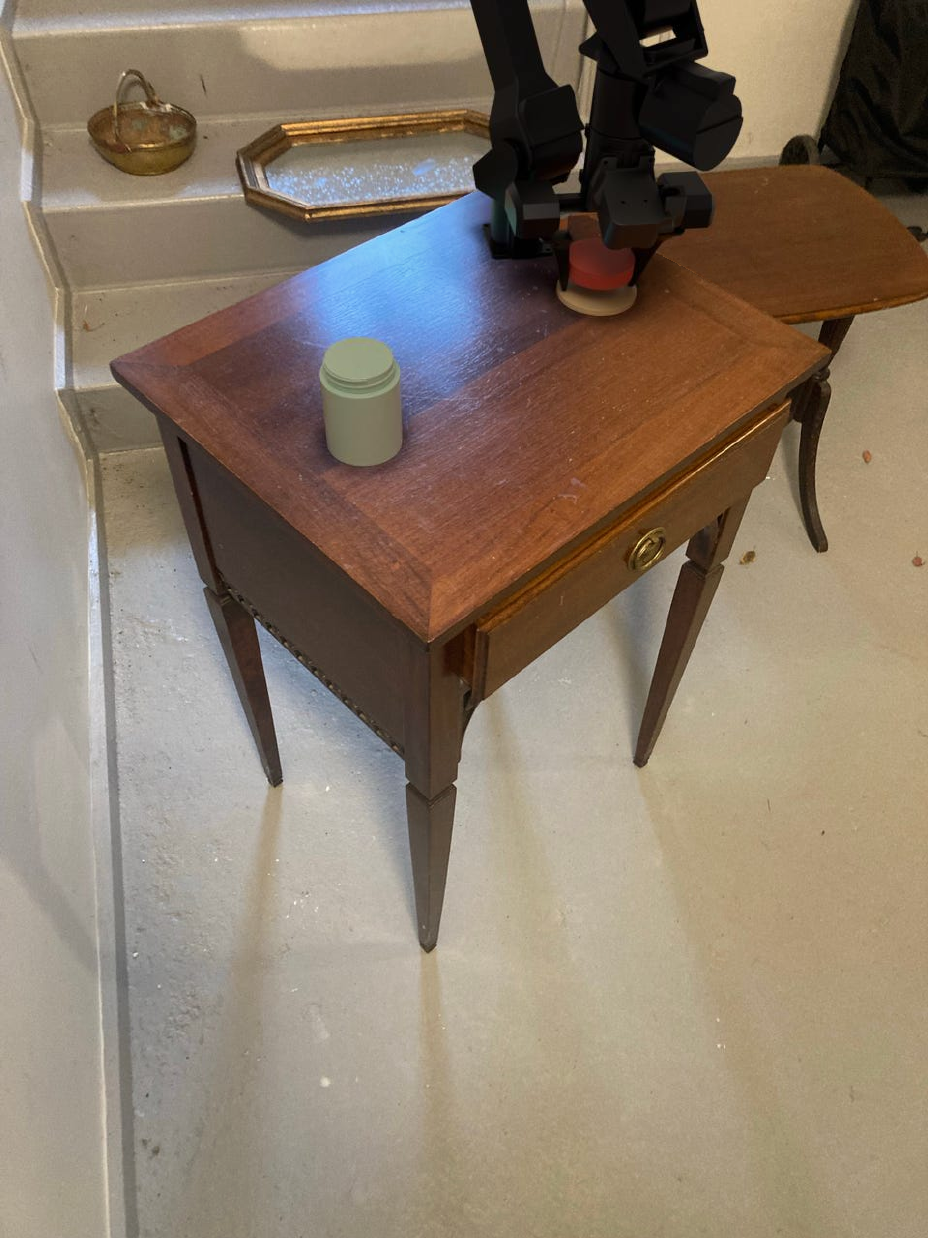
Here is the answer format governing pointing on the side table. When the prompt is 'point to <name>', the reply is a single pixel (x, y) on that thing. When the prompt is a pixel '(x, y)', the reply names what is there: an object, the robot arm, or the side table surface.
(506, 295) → the side table surface
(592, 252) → the jar lid
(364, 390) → the jar
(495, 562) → the side table surface
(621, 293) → the coaster
